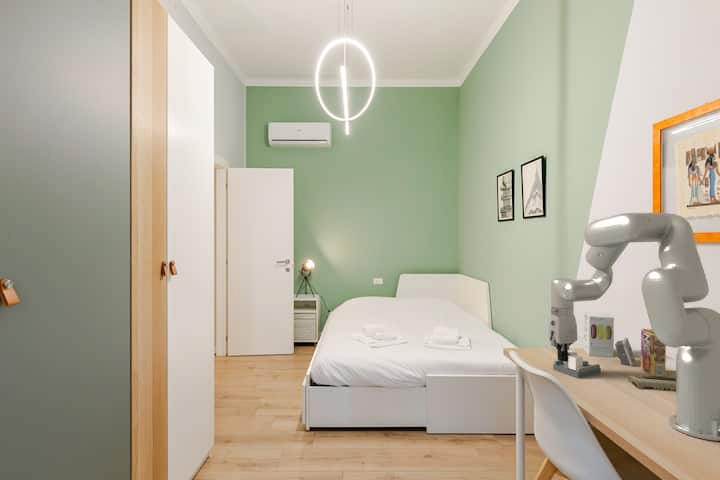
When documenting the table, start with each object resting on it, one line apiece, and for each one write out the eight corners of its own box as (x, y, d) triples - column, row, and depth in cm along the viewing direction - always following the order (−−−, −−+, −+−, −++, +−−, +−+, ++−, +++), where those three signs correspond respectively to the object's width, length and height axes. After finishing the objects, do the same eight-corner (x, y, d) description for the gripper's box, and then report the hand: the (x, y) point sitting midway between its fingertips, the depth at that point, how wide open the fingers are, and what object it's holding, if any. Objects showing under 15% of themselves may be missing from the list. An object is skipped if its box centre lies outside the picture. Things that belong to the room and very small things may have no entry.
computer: (680, 384, 138) (680, 375, 138) (693, 393, 130) (693, 383, 130) (627, 381, 142) (627, 372, 141) (637, 390, 134) (637, 380, 134)
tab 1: (577, 363, 153) (577, 352, 153) (570, 365, 151) (570, 353, 151) (570, 361, 155) (570, 350, 155) (563, 362, 154) (563, 351, 154)
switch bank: (600, 373, 149) (600, 364, 149) (577, 378, 144) (577, 368, 144) (575, 365, 158) (575, 356, 158) (553, 369, 154) (553, 360, 153)
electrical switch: (633, 367, 156) (630, 342, 156) (617, 365, 159) (614, 341, 159) (635, 361, 163) (632, 337, 163) (620, 360, 166) (617, 337, 167)
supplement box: (588, 355, 170) (588, 315, 170) (583, 350, 179) (583, 311, 179) (614, 357, 168) (614, 316, 168) (608, 351, 177) (607, 312, 176)
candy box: (666, 377, 144) (666, 334, 144) (653, 376, 145) (653, 334, 144) (653, 369, 153) (652, 328, 153) (640, 368, 153) (640, 328, 153)
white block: (582, 369, 147) (582, 356, 147) (575, 370, 145) (575, 358, 145) (575, 366, 149) (575, 354, 149) (568, 368, 148) (568, 356, 148)
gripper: (556, 315, 145) (556, 366, 145) (585, 311, 151) (585, 360, 151) (539, 311, 152) (539, 360, 152) (567, 308, 158) (568, 355, 158)
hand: (562, 360), depth 152 cm, fingers closed
